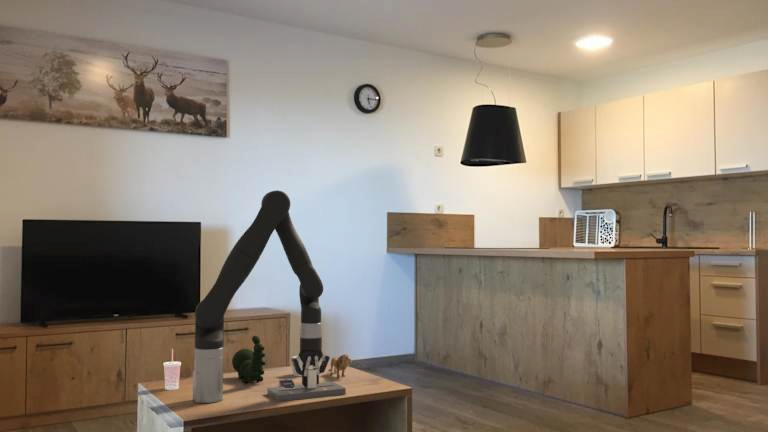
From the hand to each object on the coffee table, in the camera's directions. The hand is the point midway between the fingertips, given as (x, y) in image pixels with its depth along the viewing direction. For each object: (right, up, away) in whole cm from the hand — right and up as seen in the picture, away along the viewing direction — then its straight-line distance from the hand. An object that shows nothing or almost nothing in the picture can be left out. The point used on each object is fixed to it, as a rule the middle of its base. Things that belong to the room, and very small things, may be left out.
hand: (310, 385), depth 229 cm
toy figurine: (-25, -4, +21) cm, 33 cm away
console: (-1, -3, -1) cm, 3 cm away
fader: (0, -3, 0) cm, 3 cm away
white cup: (-8, -4, +32) cm, 33 cm away
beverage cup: (-50, -3, +7) cm, 51 cm away
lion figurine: (+8, -4, +31) cm, 32 cm away
